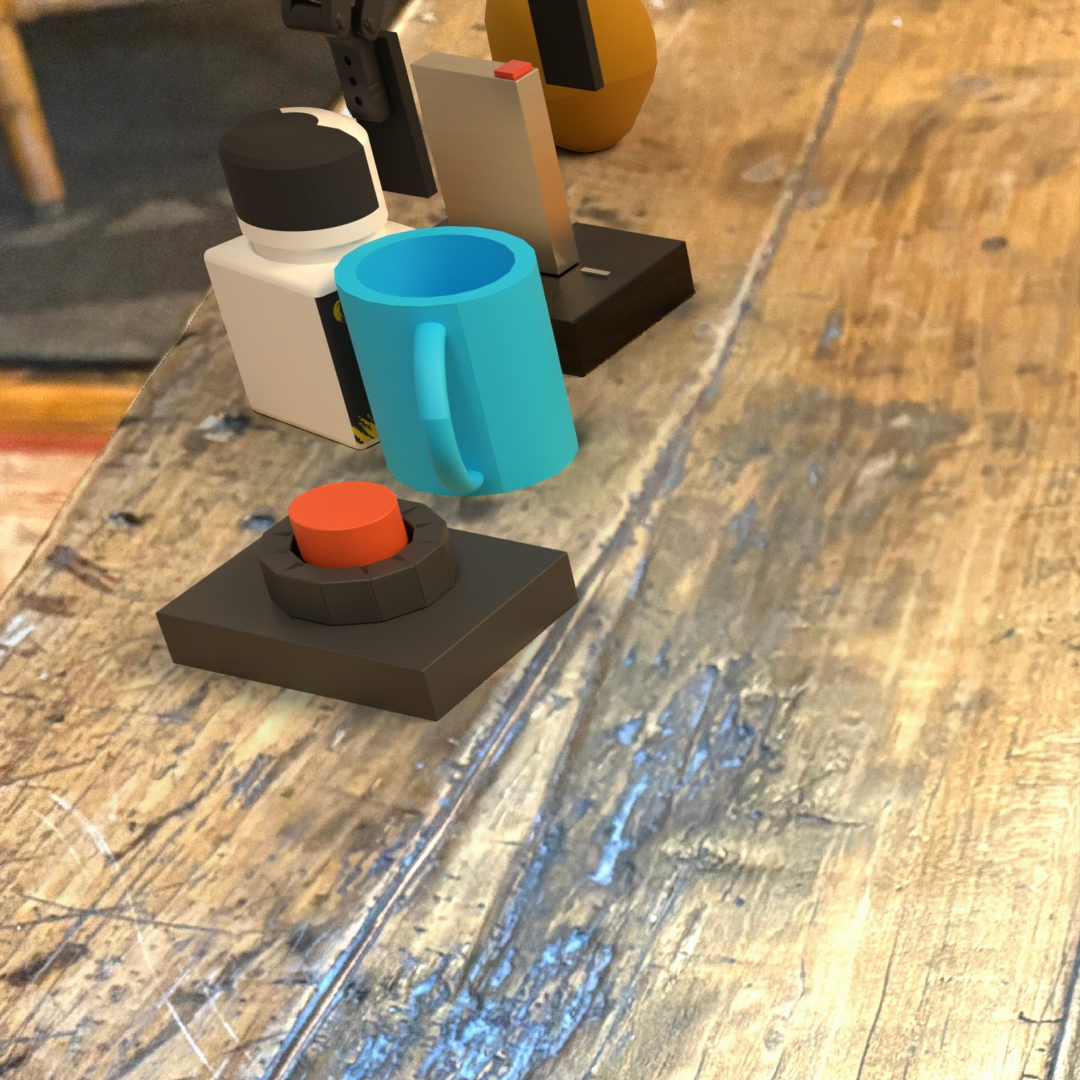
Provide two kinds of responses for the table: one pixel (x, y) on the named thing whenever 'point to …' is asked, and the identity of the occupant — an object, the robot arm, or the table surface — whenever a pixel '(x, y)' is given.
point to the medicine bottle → (298, 265)
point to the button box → (373, 616)
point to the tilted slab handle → (496, 152)
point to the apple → (623, 63)
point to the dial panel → (612, 292)
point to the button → (347, 524)
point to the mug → (458, 359)
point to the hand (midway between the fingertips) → (494, 137)
